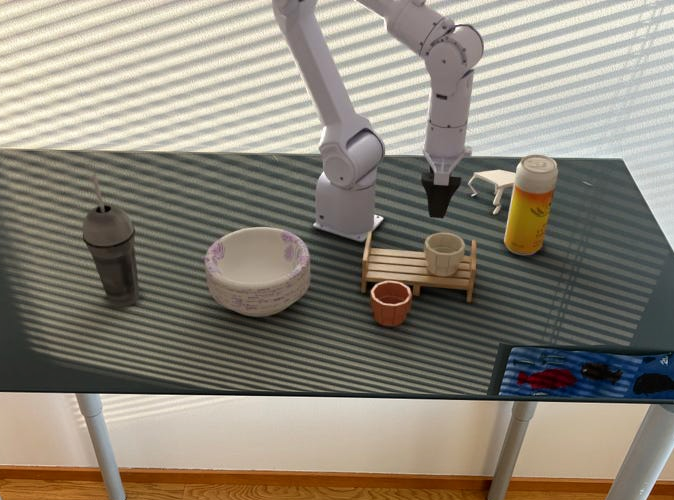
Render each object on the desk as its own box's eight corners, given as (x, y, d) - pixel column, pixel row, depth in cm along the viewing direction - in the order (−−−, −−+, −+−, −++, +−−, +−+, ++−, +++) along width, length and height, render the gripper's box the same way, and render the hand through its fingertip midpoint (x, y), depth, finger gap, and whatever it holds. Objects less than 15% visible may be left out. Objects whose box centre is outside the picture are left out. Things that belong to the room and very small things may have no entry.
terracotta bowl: (362, 322, 111) (363, 298, 107) (381, 300, 114) (382, 276, 111) (398, 335, 108) (400, 310, 105) (415, 312, 112) (418, 287, 109)
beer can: (540, 259, 121) (559, 175, 111) (501, 254, 123) (516, 171, 112) (542, 238, 126) (560, 155, 115) (504, 233, 127) (519, 151, 116)
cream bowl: (416, 273, 114) (418, 248, 111) (432, 252, 118) (435, 228, 115) (452, 284, 112) (455, 259, 109) (467, 263, 116) (470, 238, 113)
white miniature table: (474, 217, 130) (478, 192, 127) (465, 191, 136) (469, 166, 133) (544, 215, 131) (549, 190, 127) (532, 190, 137) (537, 165, 133)
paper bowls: (197, 281, 118) (190, 238, 112) (288, 258, 122) (286, 215, 117) (228, 342, 108) (222, 298, 102) (326, 314, 112) (326, 270, 106)
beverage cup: (107, 318, 112) (76, 199, 98) (93, 291, 116) (62, 173, 103) (154, 303, 114) (131, 185, 100) (139, 277, 119) (115, 161, 105)
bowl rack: (366, 263, 121) (368, 231, 117) (471, 271, 119) (476, 239, 115) (361, 292, 116) (362, 260, 111) (470, 302, 114) (476, 269, 110)
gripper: (476, 145, 101) (463, 231, 111) (476, 98, 112) (464, 180, 121) (422, 141, 102) (414, 227, 111) (428, 95, 113) (420, 177, 122)
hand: (437, 203), depth 116 cm, fingers open, 7 cm apart
